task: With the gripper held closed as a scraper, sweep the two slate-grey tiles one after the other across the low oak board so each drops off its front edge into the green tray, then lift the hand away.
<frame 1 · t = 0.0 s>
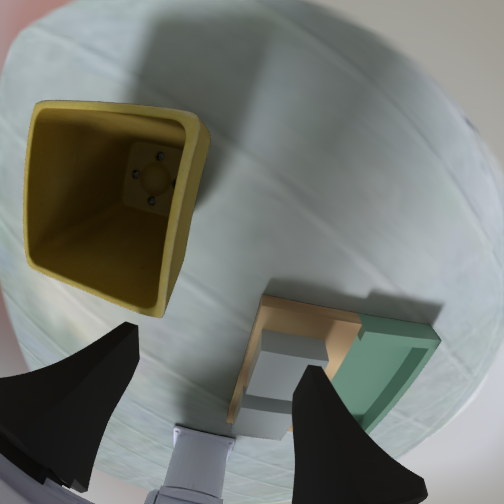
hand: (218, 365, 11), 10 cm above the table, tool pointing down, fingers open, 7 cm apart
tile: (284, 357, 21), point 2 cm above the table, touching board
board: (283, 373, 24), on the table
tray: (360, 381, 24), on the table
flower pot: (160, 177, 18), on the table
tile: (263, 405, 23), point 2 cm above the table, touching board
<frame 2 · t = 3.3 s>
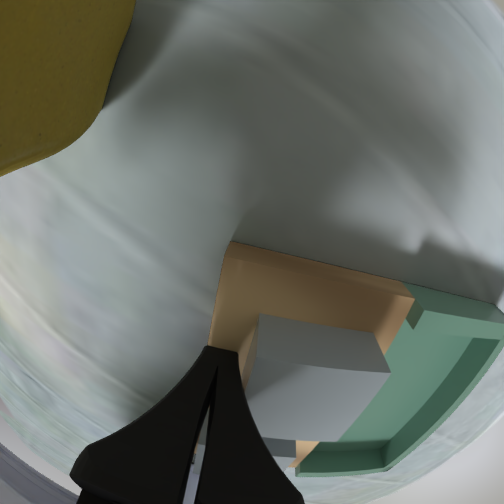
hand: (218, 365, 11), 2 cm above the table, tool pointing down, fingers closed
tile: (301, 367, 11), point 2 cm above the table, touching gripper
board: (274, 387, 14), on the table
tray: (392, 397, 14), on the table
flower pot: (81, 64, 9), on the table
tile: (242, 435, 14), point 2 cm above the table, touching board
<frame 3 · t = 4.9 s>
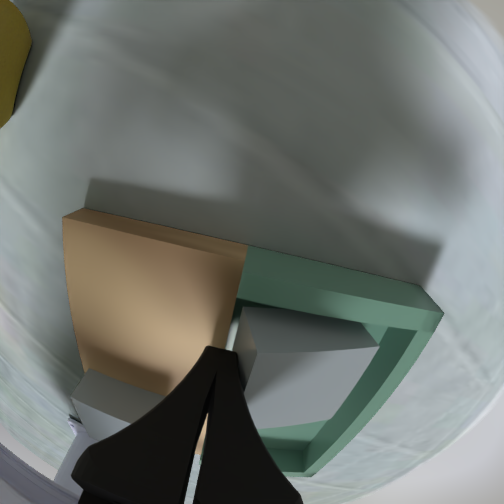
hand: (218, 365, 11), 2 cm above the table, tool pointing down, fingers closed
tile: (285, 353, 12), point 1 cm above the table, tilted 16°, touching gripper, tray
board: (150, 358, 14), on the table
tray: (291, 390, 14), on the table
flower pot: (6, 81, 8), on the table
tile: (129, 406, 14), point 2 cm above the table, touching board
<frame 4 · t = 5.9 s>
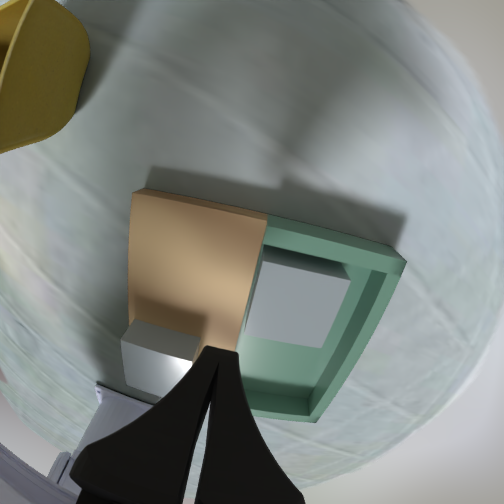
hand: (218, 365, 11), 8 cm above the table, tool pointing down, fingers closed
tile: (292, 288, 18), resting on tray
board: (187, 308, 19), on the table
tray: (297, 332, 19), on the table
flower pot: (63, 85, 14), on the table
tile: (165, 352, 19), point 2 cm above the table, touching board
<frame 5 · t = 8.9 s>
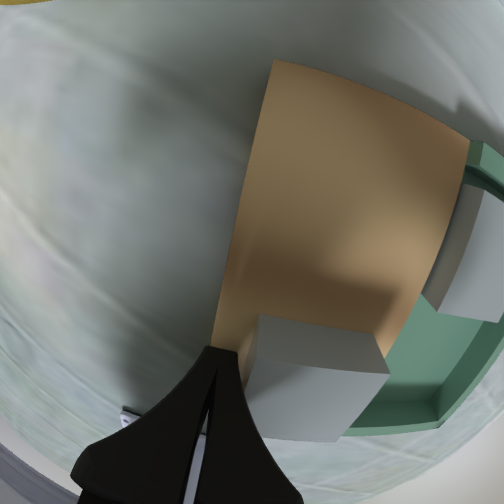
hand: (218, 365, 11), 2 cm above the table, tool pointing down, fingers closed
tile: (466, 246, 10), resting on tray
board: (319, 284, 12), on the table
tray: (450, 311, 12), on the table
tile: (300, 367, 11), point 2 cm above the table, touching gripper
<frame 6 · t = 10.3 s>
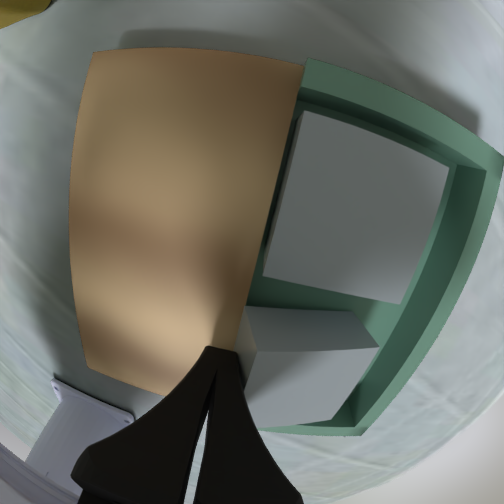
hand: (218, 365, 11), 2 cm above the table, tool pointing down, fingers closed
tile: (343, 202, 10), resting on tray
board: (161, 248, 11), on the table
tray: (345, 290, 12), on the table
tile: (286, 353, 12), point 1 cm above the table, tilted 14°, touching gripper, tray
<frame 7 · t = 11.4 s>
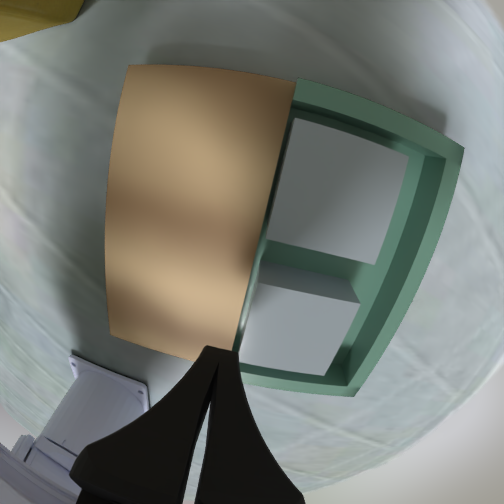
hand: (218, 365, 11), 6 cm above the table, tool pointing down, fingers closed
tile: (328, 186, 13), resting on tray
board: (183, 224, 14), on the table
tray: (333, 259, 14), on the table
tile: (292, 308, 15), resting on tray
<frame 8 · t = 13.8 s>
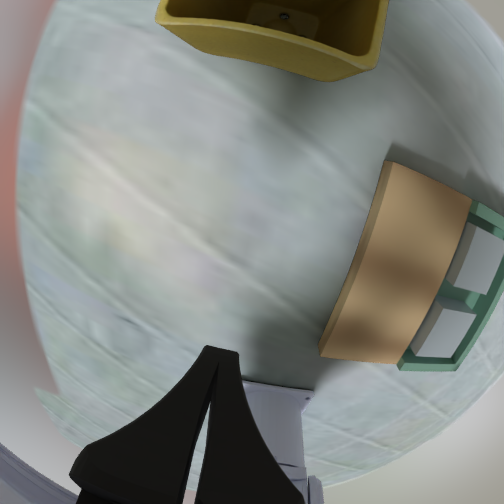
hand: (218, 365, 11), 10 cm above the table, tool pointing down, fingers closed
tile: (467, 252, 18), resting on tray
board: (394, 273, 20), on the table
tray: (458, 290, 20), on the table
flower pot: (280, 35, 14), on the table
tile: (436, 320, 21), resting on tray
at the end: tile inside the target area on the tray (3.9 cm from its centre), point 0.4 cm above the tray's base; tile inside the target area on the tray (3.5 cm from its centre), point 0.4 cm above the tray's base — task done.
